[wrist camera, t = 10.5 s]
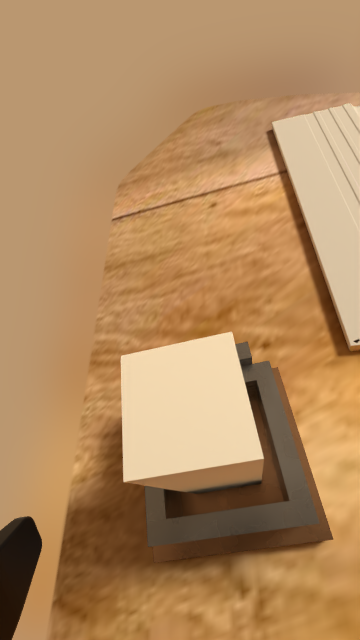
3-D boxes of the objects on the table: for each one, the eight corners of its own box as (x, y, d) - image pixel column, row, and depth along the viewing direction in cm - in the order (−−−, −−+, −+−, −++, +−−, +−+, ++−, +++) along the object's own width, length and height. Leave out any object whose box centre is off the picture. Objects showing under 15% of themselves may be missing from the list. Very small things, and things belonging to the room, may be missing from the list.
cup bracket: (329, 537, 17) (359, 551, 12) (158, 559, 18) (120, 581, 13) (276, 372, 22) (282, 334, 17) (147, 398, 24) (117, 369, 19)
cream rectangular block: (261, 483, 18) (263, 458, 8) (196, 494, 19) (123, 481, 9) (245, 416, 20) (231, 331, 10) (187, 427, 21) (120, 355, 11)
